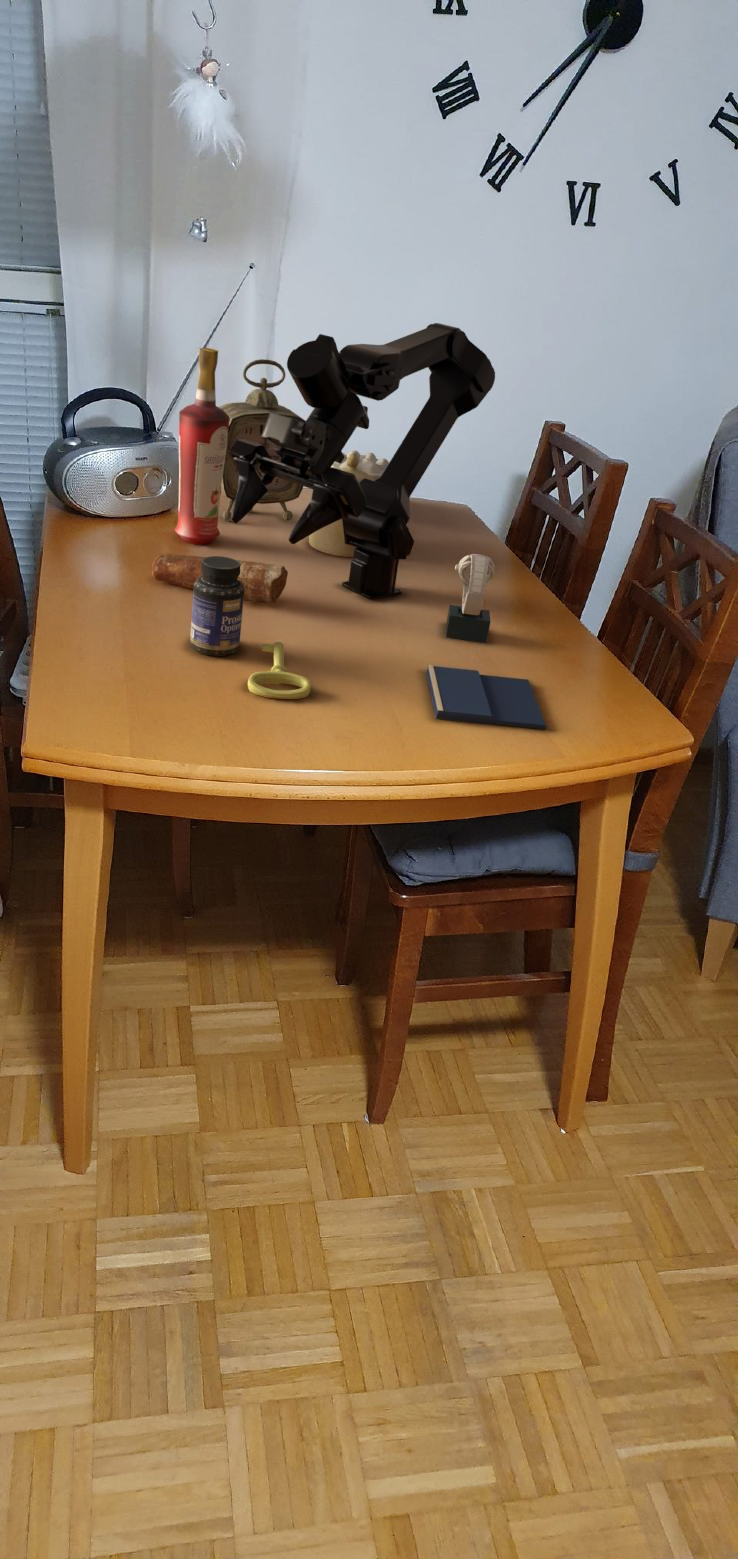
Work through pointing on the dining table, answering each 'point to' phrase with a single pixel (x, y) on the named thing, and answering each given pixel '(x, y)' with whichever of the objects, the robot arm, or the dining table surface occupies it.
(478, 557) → the watch
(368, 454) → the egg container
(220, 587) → the pill bottle
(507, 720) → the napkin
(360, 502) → the robot arm
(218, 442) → the liquor
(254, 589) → the brown rough cylinder
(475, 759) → the dining table surface
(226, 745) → the dining table surface
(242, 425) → the tabletop clock
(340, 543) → the sugar bowl
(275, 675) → the key
